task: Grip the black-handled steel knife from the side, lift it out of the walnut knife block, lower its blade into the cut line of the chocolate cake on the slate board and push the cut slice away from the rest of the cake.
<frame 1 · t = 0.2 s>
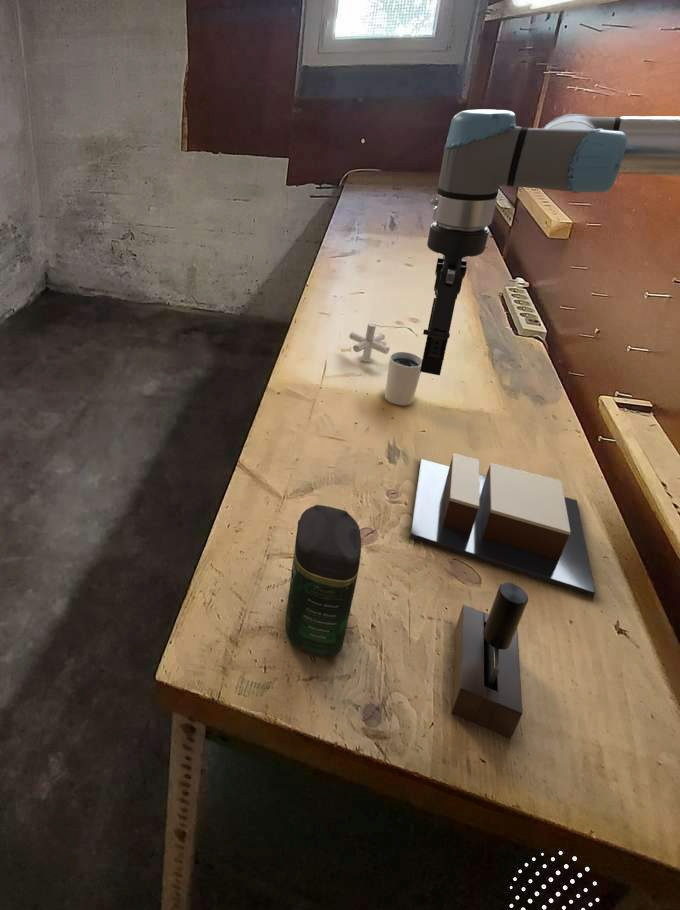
hand: (432, 352, 90), 27 cm above the table, tool pointing down, fingers open, 13 cm apart
cake: (517, 522, 91), point 1 cm above the table, touching cake board
cake board: (494, 520, 93), on the table
cake slice: (457, 505, 95), point 1 cm above the table, touching cake board
white cup: (398, 398, 125), on the table
pipe connector: (365, 361, 140), on the table
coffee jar: (314, 626, 78), on the table
knife: (496, 638, 67), in the knife block
knife block: (480, 679, 70), on the table
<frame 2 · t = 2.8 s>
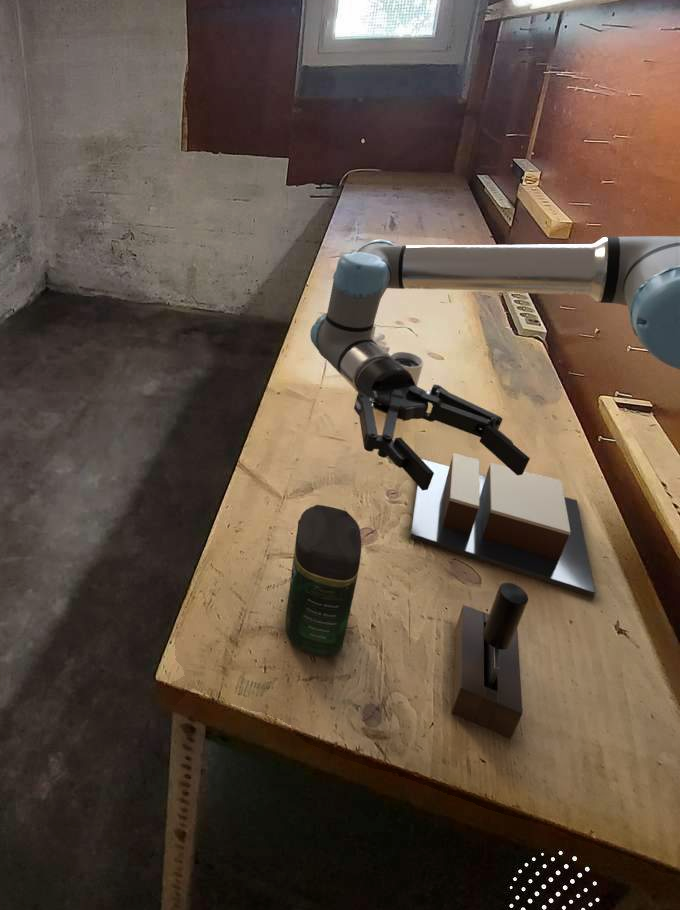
hand: (477, 474, 68), 24 cm above the table, tool horizontal, fingers open, 13 cm apart
nothing on the table moved.
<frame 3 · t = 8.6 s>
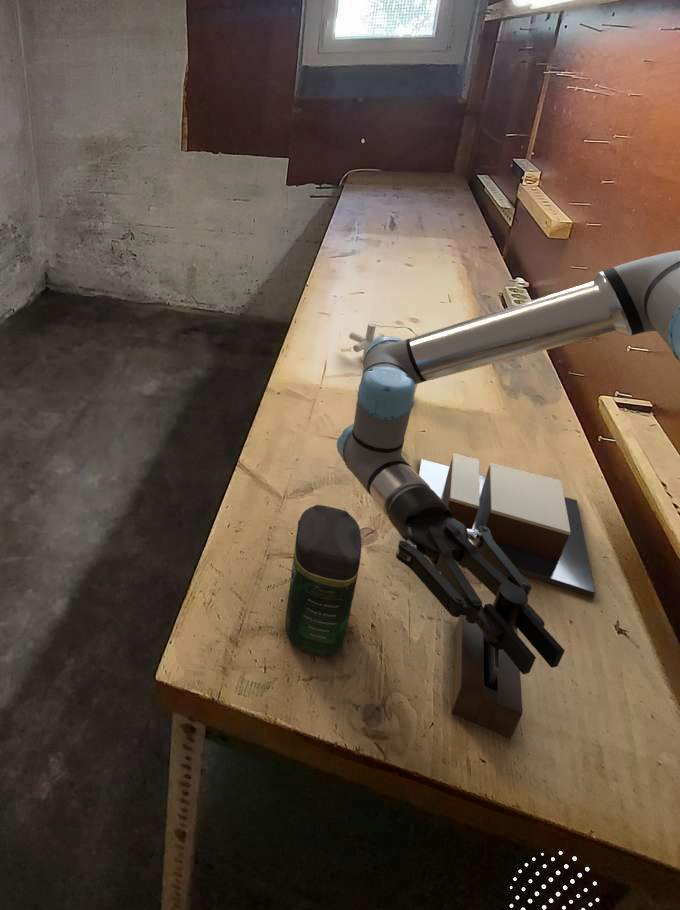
hand: (543, 662, 60), 12 cm above the table, tool horizontal, fingers closed on knife, 3 cm apart
knife: (496, 638, 67), in the knife block, touching gripper
everything else where it was.
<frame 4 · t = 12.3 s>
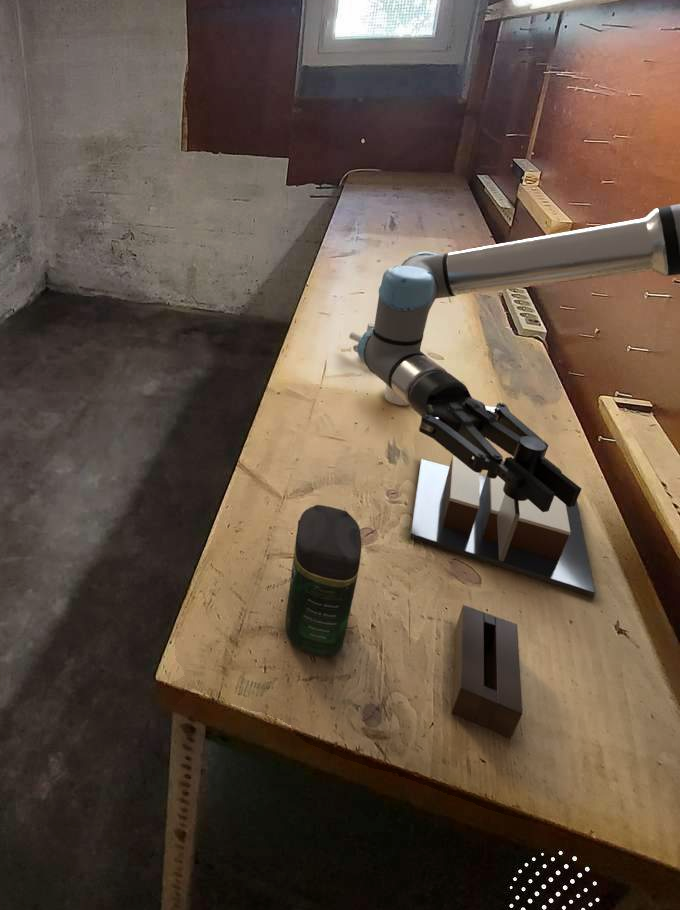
hand: (561, 500, 65), 24 cm above the table, tool horizontal, fingers closed on knife, 3 cm apart
knife: (515, 493, 71), point 20 cm above the table, touching gripper
everything else where it was.
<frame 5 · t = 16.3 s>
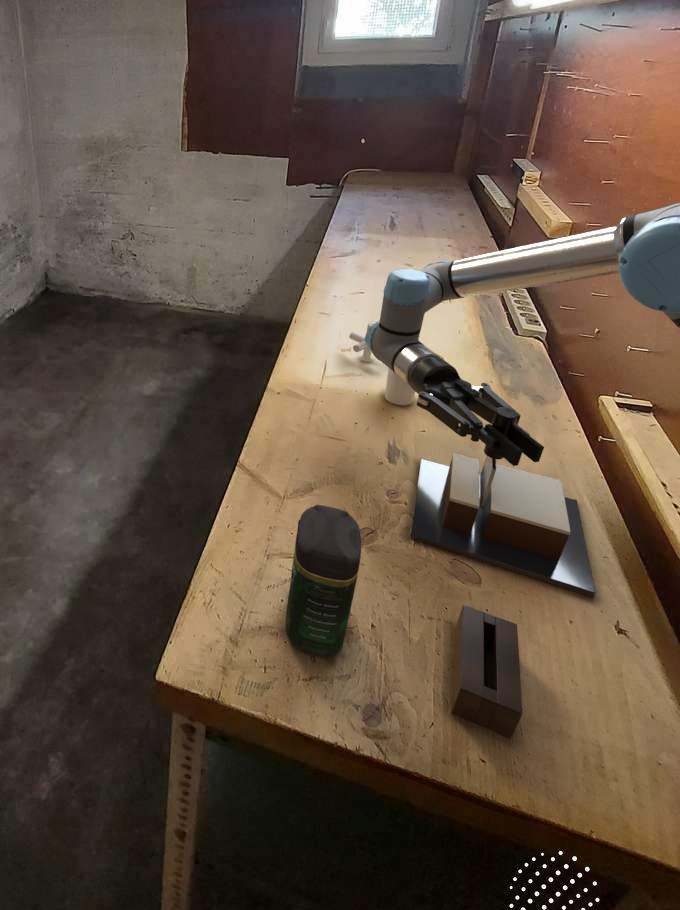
hand: (528, 456, 82), 17 cm above the table, tool horizontal, fingers closed on knife, 3 cm apart
knife: (493, 453, 88), point 13 cm above the table, touching gripper
everything else where it was.
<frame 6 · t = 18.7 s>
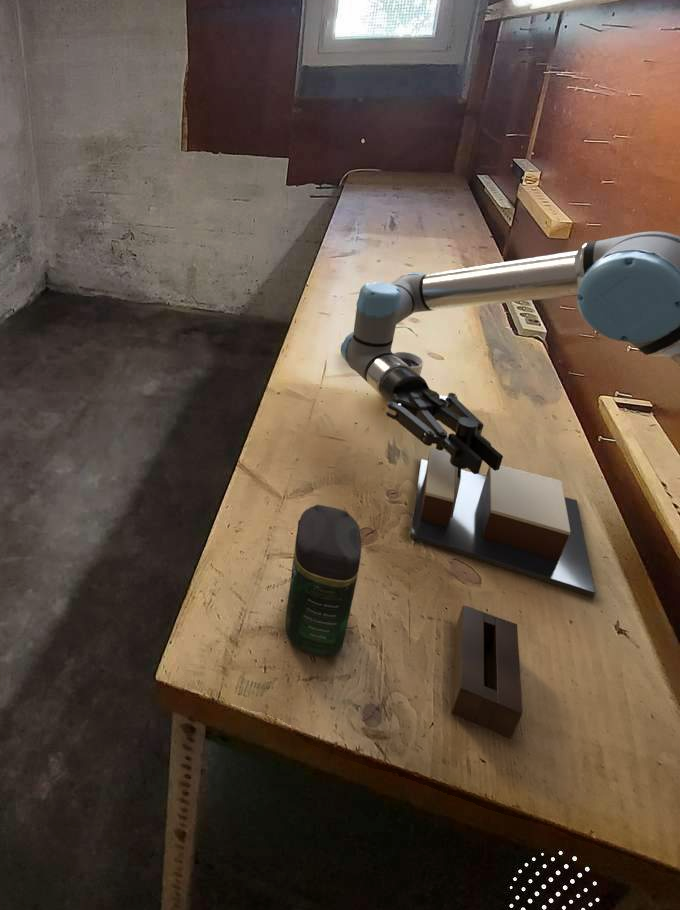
hand: (488, 465, 85), 14 cm above the table, tool horizontal, fingers closed on knife, 3 cm apart
cake slice: (435, 499, 96), point 1 cm above the table, touching cake board, knife
knife: (459, 463, 91), point 10 cm above the table, touching cake slice, gripper
everything else where it was.
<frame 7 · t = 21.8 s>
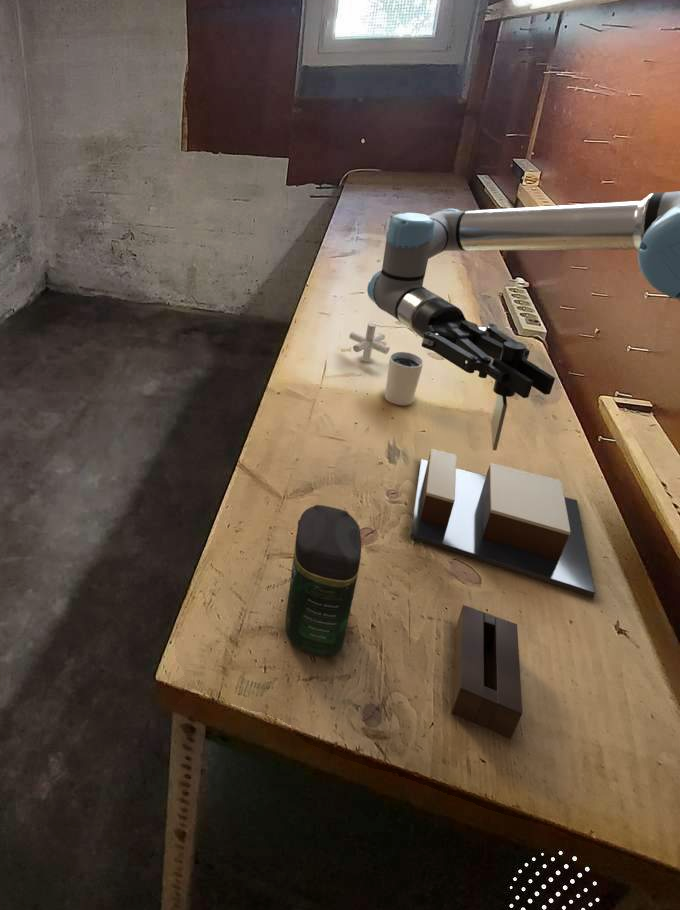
hand: (539, 387, 79), 28 cm above the table, tool horizontal, fingers closed on knife, 3 cm apart
cake slice: (435, 499, 96), point 1 cm above the table, touching cake board
knife: (503, 392, 85), point 24 cm above the table, touching gripper
everything else where it was.
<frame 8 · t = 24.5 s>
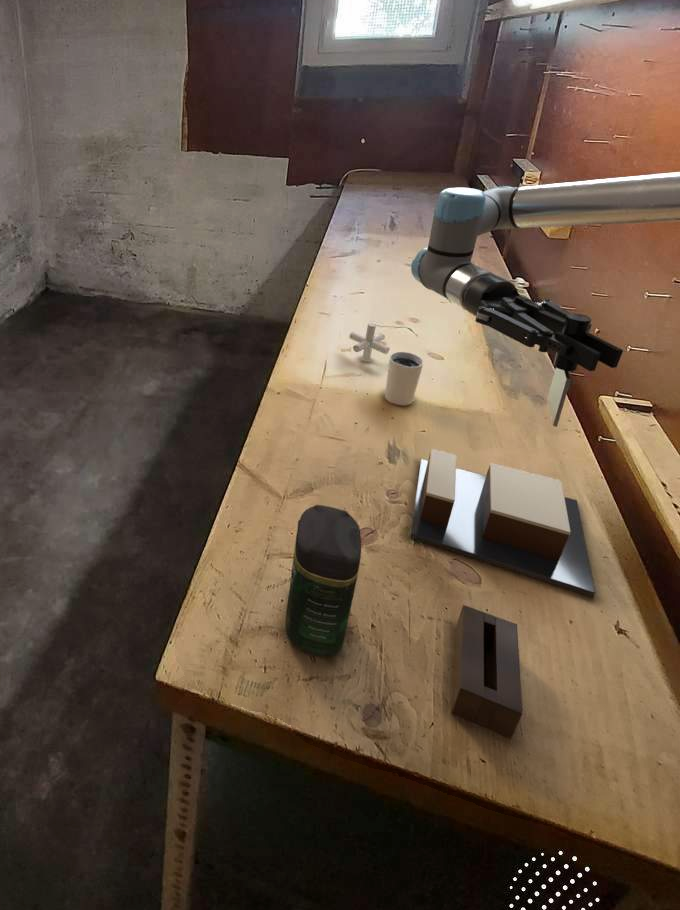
hand: (606, 360, 76), 32 cm above the table, tool horizontal, fingers closed on knife, 3 cm apart
knife: (564, 366, 83), point 28 cm above the table, touching gripper
everything else where it was.
at the end: cake slice moved 3.4 cm from its start; cake moved 0.0 cm from its start; the gripper is holding knife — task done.
